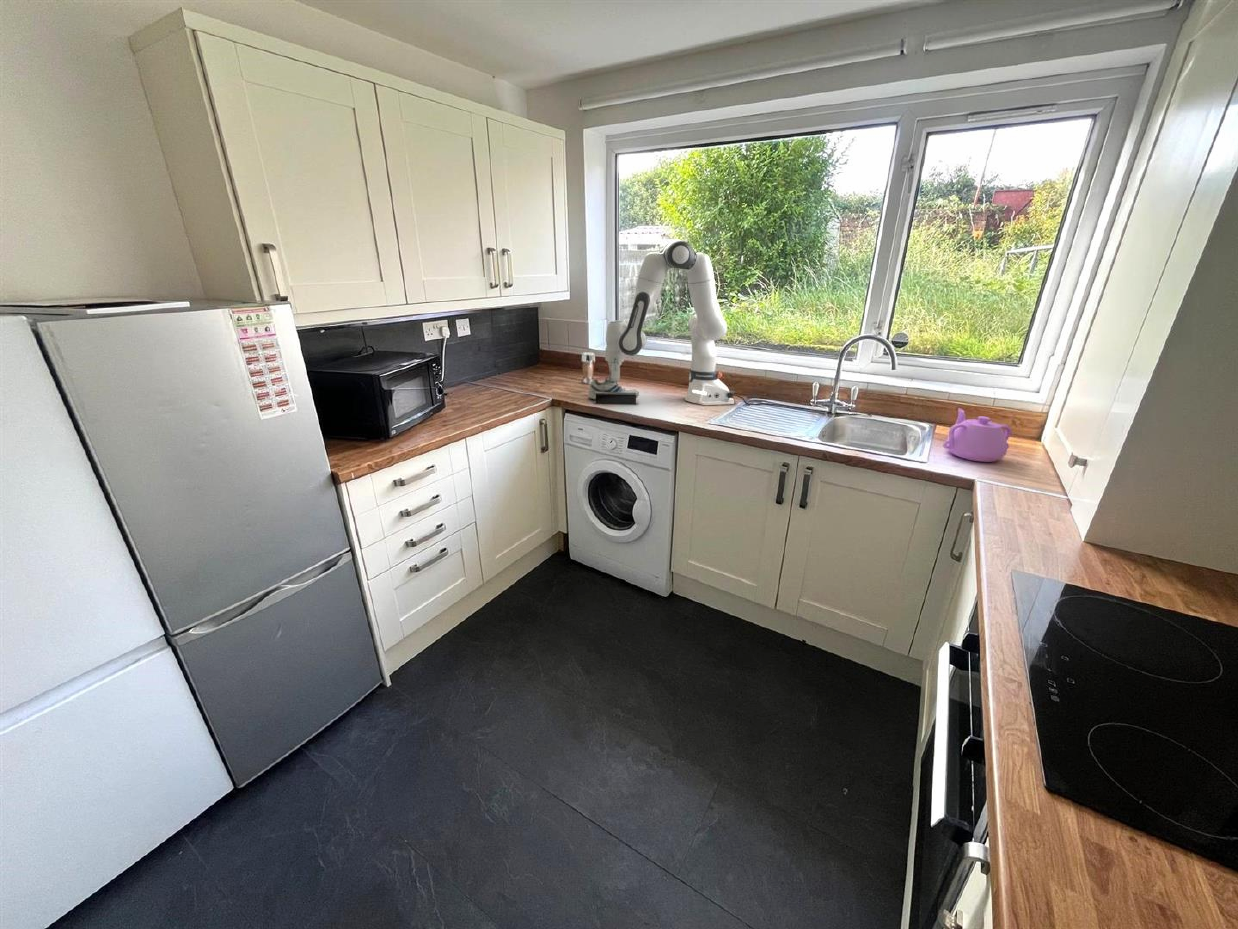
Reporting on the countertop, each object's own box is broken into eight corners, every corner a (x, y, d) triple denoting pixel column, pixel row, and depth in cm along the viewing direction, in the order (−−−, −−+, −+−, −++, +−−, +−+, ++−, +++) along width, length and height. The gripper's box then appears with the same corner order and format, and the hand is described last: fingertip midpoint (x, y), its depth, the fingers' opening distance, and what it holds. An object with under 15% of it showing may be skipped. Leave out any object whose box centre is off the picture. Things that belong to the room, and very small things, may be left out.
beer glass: (597, 382, 263) (597, 353, 257) (591, 384, 257) (591, 355, 251) (585, 380, 265) (585, 352, 260) (579, 382, 259) (579, 353, 254)
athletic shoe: (638, 403, 222) (639, 376, 221) (587, 402, 223) (587, 375, 221) (638, 402, 232) (638, 376, 231) (589, 401, 233) (589, 375, 231)
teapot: (977, 444, 183) (988, 407, 178) (1023, 465, 163) (1037, 425, 158) (918, 442, 182) (928, 406, 177) (957, 464, 162) (969, 423, 157)
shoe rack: (635, 403, 223) (636, 392, 221) (635, 404, 222) (636, 392, 220) (595, 402, 222) (595, 391, 220) (595, 403, 221) (595, 392, 219)
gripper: (623, 361, 217) (622, 392, 222) (620, 353, 236) (619, 382, 241) (608, 360, 217) (607, 392, 222) (607, 353, 236) (606, 382, 241)
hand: (613, 386), depth 232 cm, fingers closed
